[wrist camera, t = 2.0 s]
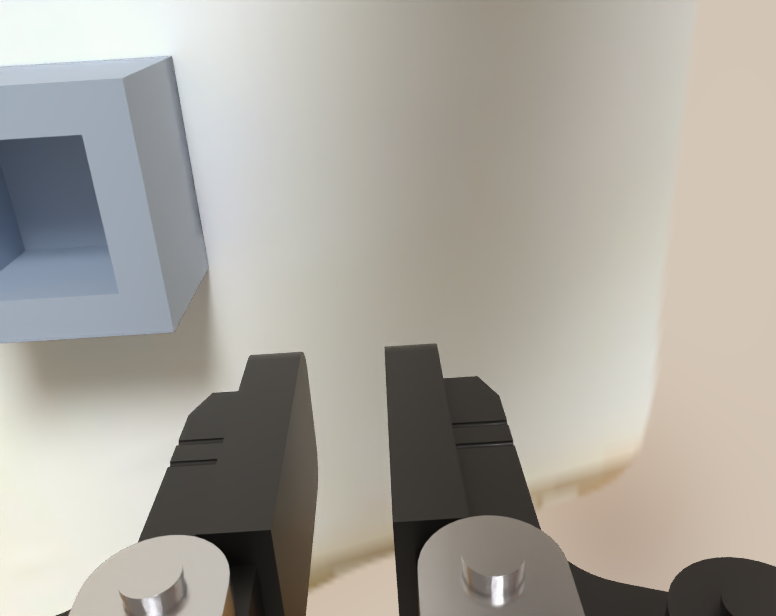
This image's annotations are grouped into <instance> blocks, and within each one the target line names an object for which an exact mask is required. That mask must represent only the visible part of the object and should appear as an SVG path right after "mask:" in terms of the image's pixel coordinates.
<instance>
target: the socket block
mask: <svg viewBox="0 0 776 616" xmlns="http://www.w3.org/2000/svg"><path fill="white" fill-rule="evenodd" d="M208 268H209V267H208V262H207V256H206V250H205V244H204V238H203V233H202V227H201V221H200V215H199V210H198V204H197V198H196V192H195V187H194V181H193V175H192V169H191V164H190V158H189V152H188V146H187V141H186V135H185V129H184V123H183V117H182V112H181V106H180V100H179V94H178V89H177V83H176V77H175V71H174V66H173V60H172V56H166V57H151V58H135V59H119V60H103V61H87V62H71V63H55V64H39V65H24V66H8V67H0V343H13V342H29V341H45V340H61V339H77V338H93V337H108V336H124V335H140V334H156V333H172V332H175V330H176V328H177V326H178V324H179V322H180V320H181V318H182V316H183V315H184V313H185V311H186V309H187V307H188V305H189V303H190V301H191V300H192V298H193V296H194V294H195V292H196V290H197V288H198V286H199V284H200V283H201V281H202V279H203V277H204V275H205V273H206V271H207V269H208Z"/></svg>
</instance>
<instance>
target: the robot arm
mask: <svg viewBox="0 0 776 616" xmlns="http://www.w3.org/2000/svg"><path fill="white" fill-rule="evenodd" d="M385 366H386V387H387V409H388V430H389V451H390V472H391V493H392V514H393V531H394V545H395V560H396V573H397V588H398V603H399V616H776V567H775V566H772V565H769V564H765V563H762V562H759V561H754V560H749V559H744V558H732V557H724V558H723V557H721V558H711V559H706V560H702V561H699V562H696V563H693V564H691V565H690V566H688V567H686V568H685V569H683V570H682V571H681V572H680V573H679V574H678V575H677V576H676V577H675V579H674V580H673V582H672V583H671V585H670V589H669V592H665V591H660V590H655V589H650V588H645V587H639V586H634V585H629V584H624V583H619V582H615V581H611V580H607V579H604V578H601V577H598V576H595V575H593V574H590V573H588V572H586V571H584V570H582V569H580V568H578V567H576V566H575V565H573V564H572V563H570V562H569V561H567V559H566V557H565V554H564V553H563V551H562V550H561V548H560V547H559V545H558V544H557V543H556V542H555V541H554V540H553V539H552V538H551V537H550V536H548V535H547V534H546V533H544V532H543V531H542V530H541V528H540V526H539V522H538V519H537V516H536V513H535V510H534V506H533V503H532V500H531V497H530V493H529V490H528V487H527V484H526V481H525V477H524V474H523V471H522V468H521V464H520V461H519V458H518V455H517V452H516V448H515V446H513V439H512V436H511V432H510V429H509V426H508V425H507V419H506V416H505V413H504V410H503V407H502V403H501V400H500V397H499V395H498V394H497V393H495V392H494V391H493V390H492V389H491V388H490V387H489V386H488V385H487V384H485V383H484V382H483V381H482V380H481V379H480V378H479V377H478V376H475V377H459V378H443V375H442V370H441V364H440V359H439V354H438V348H437V344H421V345H405V346H389V347H385ZM317 490H318V461H317V447H316V438H315V430H314V422H313V413H312V405H311V396H310V388H309V380H308V371H307V364H306V359H305V355H304V353H303V352H293V353H277V354H262V355H250V356H249V358H248V361H247V364H246V368H245V371H244V374H243V378H242V381H241V384H240V387H239V391H236V392H220V393H212V394H211V395H210V396H209V397H208V398H207V399H206V400H205V401H203V402H202V403H201V404H200V405H199V406H198V407H197V408H196V409H195V410H194V411H193V412H192V413H191V414H190V415H189V416H188V418H187V421H186V423H185V426H184V428H183V431H182V433H181V436H180V438H179V445H178V446H176V448H175V451H174V453H173V456H172V458H171V461H170V467H168V468H167V471H166V473H165V476H164V478H163V481H162V483H161V486H160V488H159V491H158V493H157V496H156V498H155V501H154V503H153V506H152V508H151V511H150V513H149V516H148V518H147V521H146V523H145V526H144V528H143V531H142V533H141V536H140V538H139V541H138V543H136V544H133V545H131V546H129V547H127V548H125V549H123V550H121V551H119V552H118V553H116V554H115V555H113V556H111V557H110V558H109V559H107V560H106V561H105V562H103V563H102V564H101V565H100V566H99V567H98V568H97V569H96V570H95V571H94V572H93V573H92V574H91V575H90V576H89V577H88V579H87V580H86V581H85V582H84V584H83V586H82V587H81V589H80V591H79V593H78V595H77V597H76V599H75V602H74V604H73V606H72V608H71V609H70V610H68V611H66V612H64V613H62V614H59V615H56V616H306V606H307V596H308V586H309V575H310V564H311V554H312V543H313V533H314V522H315V512H316V501H317Z"/></svg>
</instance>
